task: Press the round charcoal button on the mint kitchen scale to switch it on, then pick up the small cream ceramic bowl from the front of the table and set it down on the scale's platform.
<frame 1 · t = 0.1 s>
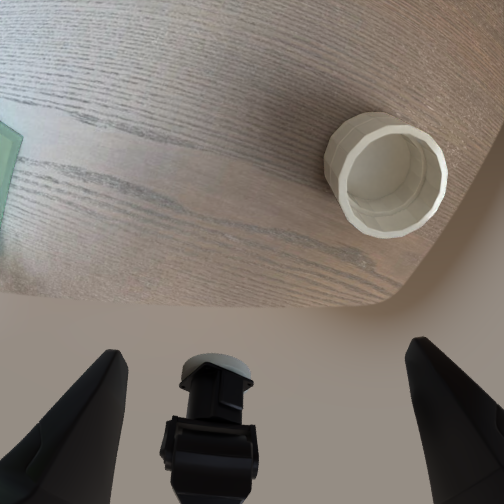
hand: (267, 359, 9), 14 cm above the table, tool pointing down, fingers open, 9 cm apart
bowl: (371, 159, 20), on the table
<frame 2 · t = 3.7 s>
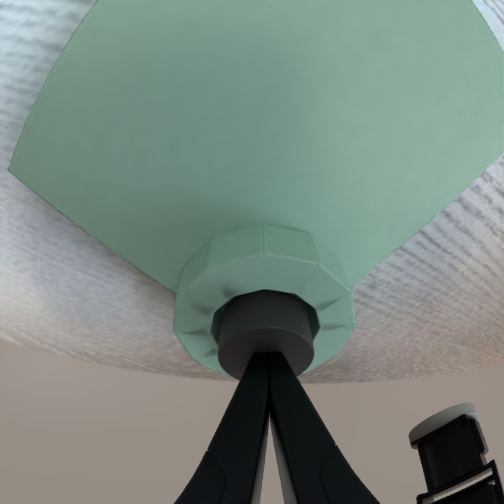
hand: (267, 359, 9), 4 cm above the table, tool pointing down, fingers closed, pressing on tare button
scale: (279, 99, 9), on the table
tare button: (265, 339, 10), point 3 cm above the table, slide at 0.1 cm, touching gripper
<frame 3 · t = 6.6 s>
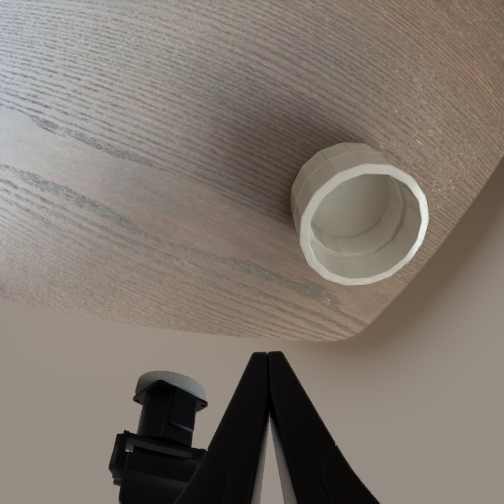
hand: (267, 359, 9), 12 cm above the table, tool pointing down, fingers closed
bowl: (345, 194, 19), on the table
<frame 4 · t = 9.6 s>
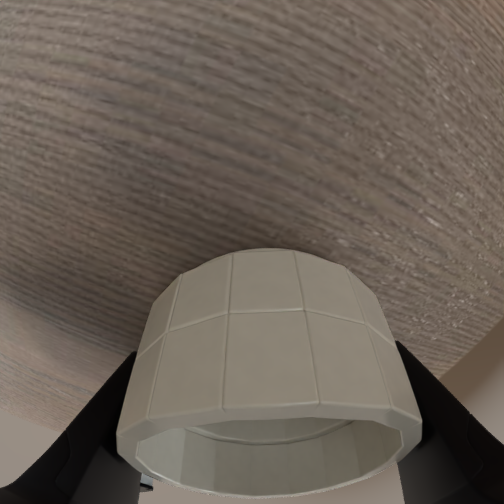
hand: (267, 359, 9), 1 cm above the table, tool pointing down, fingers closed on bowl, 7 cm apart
bowl: (265, 333, 10), on the table, touching gripper
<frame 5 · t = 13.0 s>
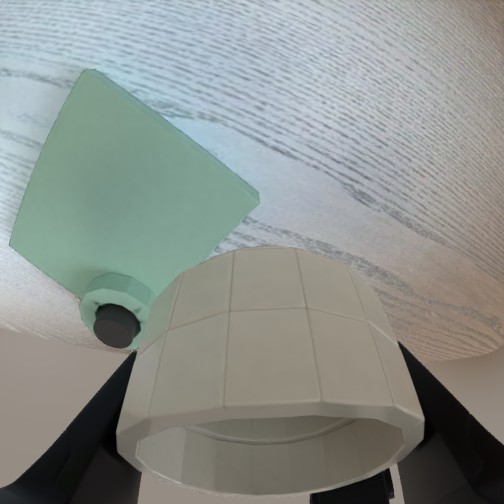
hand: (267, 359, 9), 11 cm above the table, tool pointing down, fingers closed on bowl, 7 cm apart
bowl: (266, 331, 10), point 10 cm above the table, touching gripper
scale: (113, 215, 19), on the table
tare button: (115, 326, 20), point 3 cm above the table, slide at 0.1 cm
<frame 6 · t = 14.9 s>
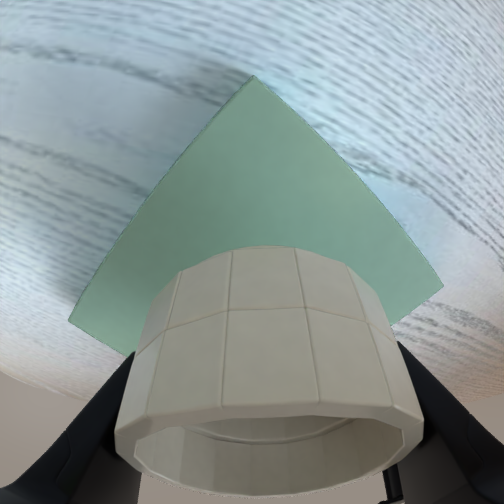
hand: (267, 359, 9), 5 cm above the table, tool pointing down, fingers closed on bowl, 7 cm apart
bowl: (265, 331, 10), point 4 cm above the table, touching gripper
scale: (246, 290, 15), on the table
when the fingers open (2 cm above the table, at t = 16.5 s): bowl stays where it is, resting on scale.
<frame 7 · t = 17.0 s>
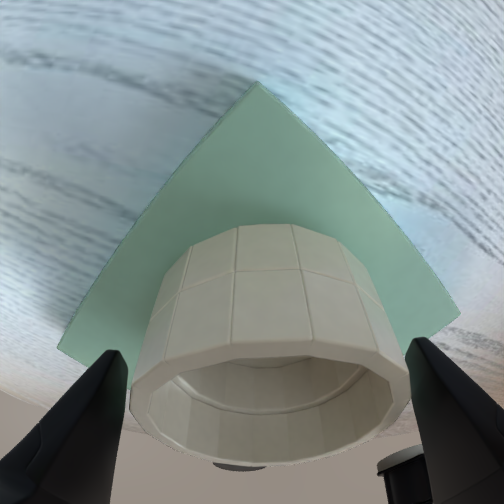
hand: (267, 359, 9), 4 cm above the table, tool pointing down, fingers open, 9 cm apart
bowl: (266, 306, 11), point 1 cm above the table, touching scale
scale: (248, 321, 13), on the table
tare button: (240, 451, 14), point 3 cm above the table, slide at 0.1 cm
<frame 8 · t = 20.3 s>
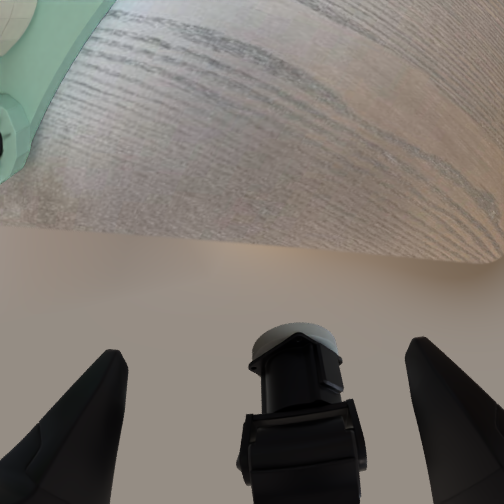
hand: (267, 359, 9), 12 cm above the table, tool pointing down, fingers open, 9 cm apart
bowl: (1, 10, 10), point 1 cm above the table, touching scale
scale: (7, 42, 12), on the table
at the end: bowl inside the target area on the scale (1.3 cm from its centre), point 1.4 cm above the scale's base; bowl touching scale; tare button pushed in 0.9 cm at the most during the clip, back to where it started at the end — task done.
